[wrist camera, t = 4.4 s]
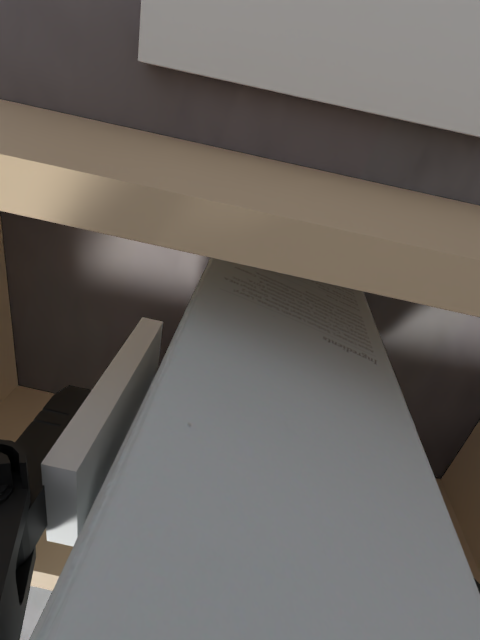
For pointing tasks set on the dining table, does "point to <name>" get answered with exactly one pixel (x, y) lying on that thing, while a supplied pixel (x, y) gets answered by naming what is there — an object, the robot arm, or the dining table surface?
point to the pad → (331, 52)
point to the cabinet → (236, 242)
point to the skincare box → (268, 487)
